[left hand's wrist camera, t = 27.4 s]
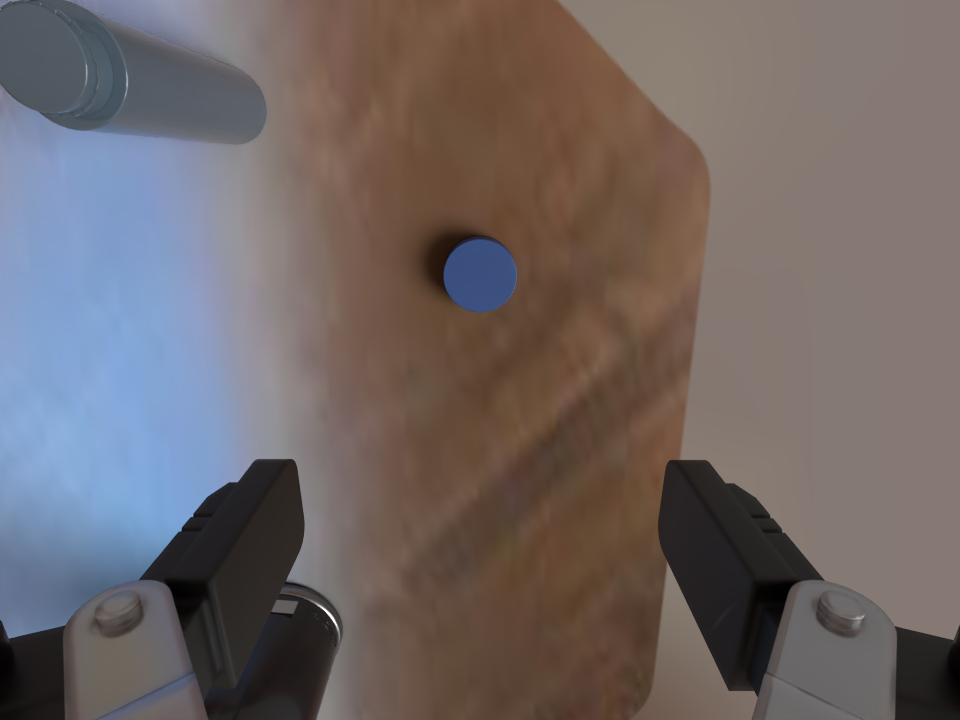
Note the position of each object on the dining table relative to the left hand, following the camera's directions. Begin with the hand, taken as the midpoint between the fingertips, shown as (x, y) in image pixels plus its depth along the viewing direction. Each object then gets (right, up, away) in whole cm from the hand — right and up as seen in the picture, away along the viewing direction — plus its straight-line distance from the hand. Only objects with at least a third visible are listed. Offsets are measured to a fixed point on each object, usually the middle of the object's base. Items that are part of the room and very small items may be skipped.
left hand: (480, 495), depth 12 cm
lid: (0, +8, +23) cm, 25 cm away
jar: (-15, +18, +21) cm, 32 cm away
